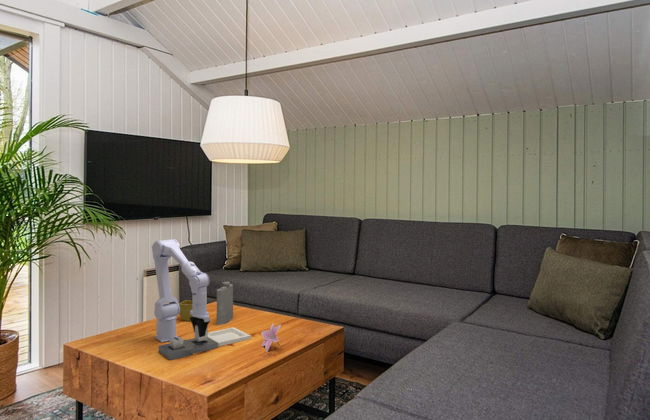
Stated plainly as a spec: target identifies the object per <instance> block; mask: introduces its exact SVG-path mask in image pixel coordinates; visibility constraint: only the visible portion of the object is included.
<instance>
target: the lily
mask: <svg viewBox="0 0 650 420" xmlns="http://www.w3.org/2000/svg"><path fill="white" fill-rule="evenodd" d="M281 326H282V325H281V324H279V325H277V326H275V324H274V323H272V324H271V326H270V329H269V330H263V331H261V332H260V333H261V337H262V338H263V342H262V343H261V345H260V346H261V347H264V346H265V347H264V348H265V351H266V353H268V351H269V350H270V347H271V345H272V343H277V345H278V346H280V344H279V341H280V339H279V337H278V335H277V333H278V332H279V330H280V329H281Z"/></svg>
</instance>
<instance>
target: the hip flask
mask: <svg viewBox="0 0 650 420" xmlns="http://www.w3.org/2000/svg"><path fill="white" fill-rule="evenodd" d="M233 318H234V284H232V283H231V282H230V281H224V282H223V281H222V287H220V288H217V289H216V326H222V325H226V324H228V323H229V322H231V321H232V320H233Z"/></svg>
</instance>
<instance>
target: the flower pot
mask: <svg viewBox="0 0 650 420" xmlns="http://www.w3.org/2000/svg"><path fill="white" fill-rule="evenodd" d="M178 304H179V306H180V313H179V316H180V318H181V320H182V321H186V322H187V321H188V322H191V321H190V319H189V318H190V317H193V316H192V315H190V310H193V303H192V300H186V299H185V300H183V301H182V302H180V303H179V302H178Z"/></svg>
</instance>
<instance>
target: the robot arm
mask: <svg viewBox="0 0 650 420" xmlns="http://www.w3.org/2000/svg"><path fill="white" fill-rule="evenodd" d="M151 251H152V258H153V260H154V268H155V269H154V270H155V274H156V281H157V289H158V297H159V298H158V299H157V301H156V302H154V317H155V319H156V325H155V326H156V331H155V332H156V335H154V336H153V337H154V338H155V339H157V340H158V341H159V342H161V343H165V342H166V343H167V342H170V338H174V337H179V336H178V335H177V318H178V315H179V316H180V314H179V313H180V306H179V302H178V299H177V298H176V297H175V296H173V293H172V286H171V285H172V284H171V278H170V272H169V271H170V270H169V264H168V260H169V259H170V258H173V259H174V260H175V262H177V264H178V265H179V266H180V267H181V270H180V271H181V272H182V273H183V274H184V275H185V277H186V278H187V279H188V285H189V287H190V292H191V293H192V294H191V295H192V300H191V301H192V303H193V310H190V315H192V316H193V317H190V318H189V319H190V321H189V322H191V325H192V328H193V332H194V334H195V325H197V326H198V332H199V337H203V336H205V333H206V329H207V326H208V327H209V324H210V322H211V319H210V316H209V315H210V312H209V311H207V310H208V309H207V306H208V305H207V303H208V302H207V301H208V300H207V299H208V297H207V293H208V292H207V291H208V289H207V287H209V285H210V281H211V280H210V276H209V275H208V274H207V273H206V272H203V271H201V270H200V269H199V268H198V267H197V265H196V264H195V262H193V261H189V260H188V259H187V257H186V256H185V254H184V252H183V251H182V250H181V245H180V243H179V242H178V240H177V239H175V238H170V239H162V240H155V241H154V242H153V244H152V246H151Z"/></svg>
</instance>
